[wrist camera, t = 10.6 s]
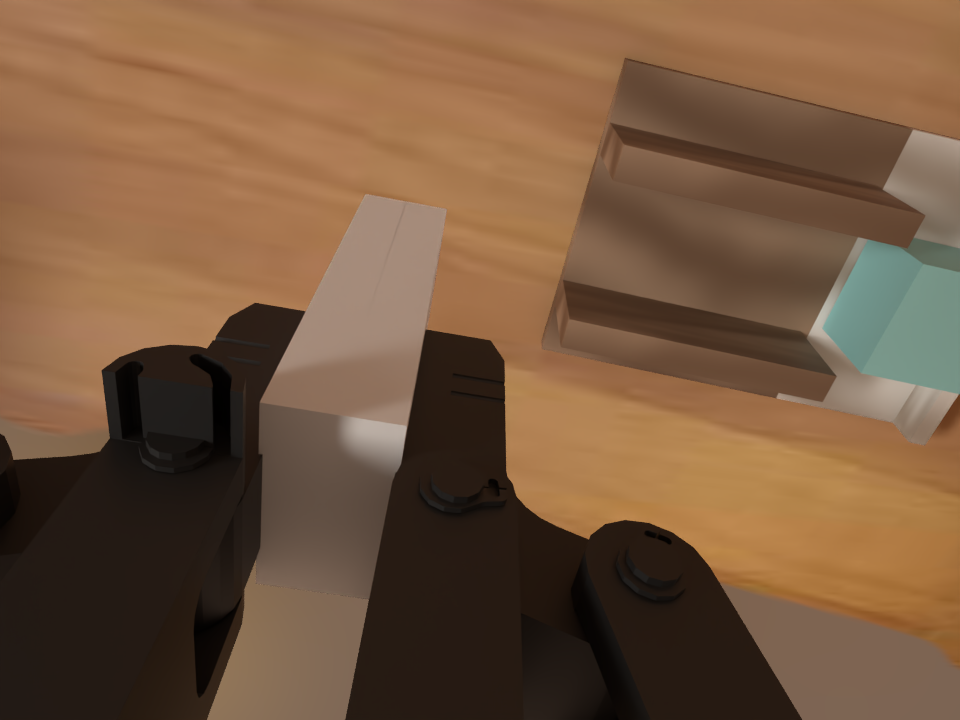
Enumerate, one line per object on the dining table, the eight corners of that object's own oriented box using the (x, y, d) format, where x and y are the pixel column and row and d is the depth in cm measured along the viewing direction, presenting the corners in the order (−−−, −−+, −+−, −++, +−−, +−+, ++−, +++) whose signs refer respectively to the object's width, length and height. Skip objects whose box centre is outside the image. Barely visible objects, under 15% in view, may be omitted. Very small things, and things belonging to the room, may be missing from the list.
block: (873, 228, 36) (923, 264, 32) (997, 257, 37) (1062, 295, 32) (822, 328, 39) (860, 373, 35) (937, 353, 40) (989, 400, 35)
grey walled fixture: (625, 58, 34) (646, 74, 29) (1058, 163, 35) (1153, 197, 30) (541, 341, 42) (546, 394, 36) (899, 416, 43) (953, 478, 38)
